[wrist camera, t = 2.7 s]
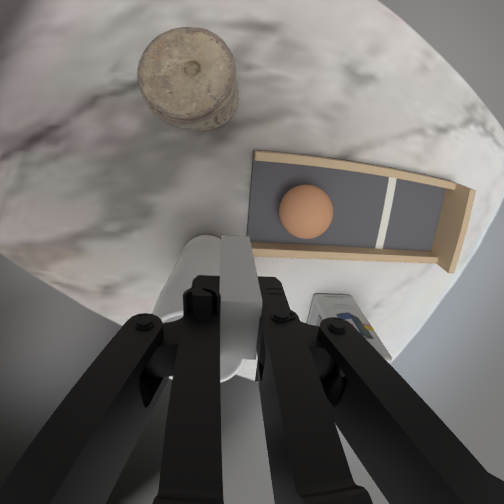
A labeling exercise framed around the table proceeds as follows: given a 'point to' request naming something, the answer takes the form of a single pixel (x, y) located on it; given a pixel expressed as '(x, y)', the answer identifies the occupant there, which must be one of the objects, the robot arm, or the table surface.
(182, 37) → the carving
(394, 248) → the lane
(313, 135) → the table surface
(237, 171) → the table surface
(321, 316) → the ink box
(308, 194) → the ball
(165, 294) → the drinking glass
